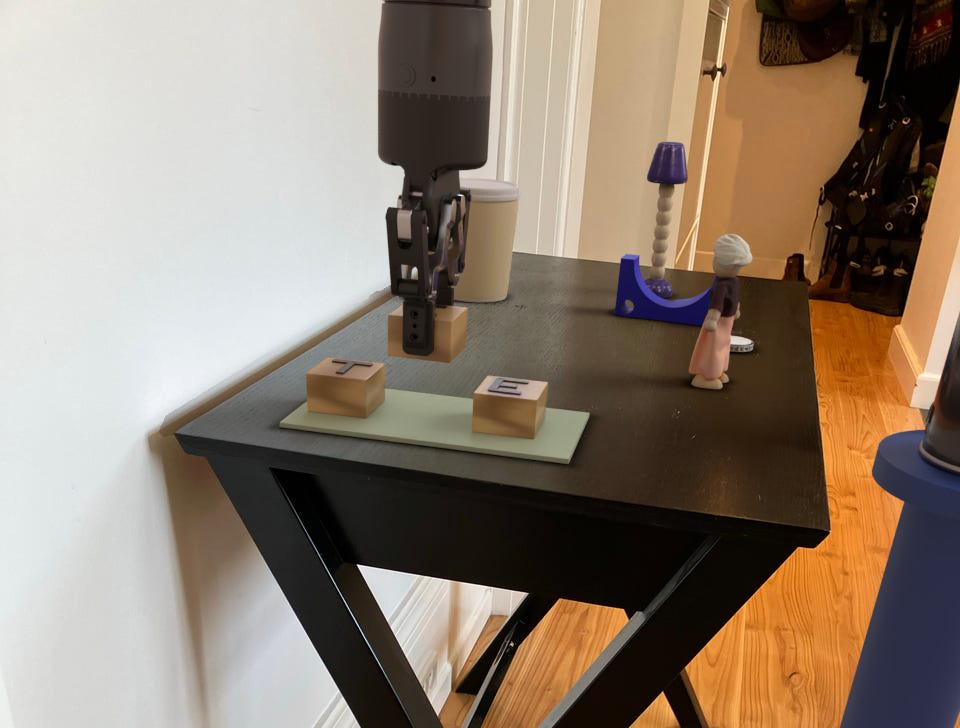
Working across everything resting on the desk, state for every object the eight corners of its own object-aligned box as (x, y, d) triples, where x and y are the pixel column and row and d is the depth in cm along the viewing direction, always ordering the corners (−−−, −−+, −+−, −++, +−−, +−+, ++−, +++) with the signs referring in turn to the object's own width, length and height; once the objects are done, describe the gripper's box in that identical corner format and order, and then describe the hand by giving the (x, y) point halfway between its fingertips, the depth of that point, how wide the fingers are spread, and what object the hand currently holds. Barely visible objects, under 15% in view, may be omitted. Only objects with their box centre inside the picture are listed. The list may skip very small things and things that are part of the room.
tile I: (466, 347, 77) (467, 305, 76) (450, 363, 73) (451, 319, 72) (406, 340, 78) (406, 299, 76) (387, 356, 74) (387, 312, 72)
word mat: (589, 417, 81) (589, 412, 81) (568, 464, 72) (568, 459, 71) (330, 386, 85) (330, 381, 84) (279, 427, 75) (279, 422, 75)
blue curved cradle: (727, 319, 113) (736, 263, 110) (722, 328, 109) (732, 270, 106) (622, 306, 116) (628, 251, 113) (614, 314, 112) (620, 258, 109)
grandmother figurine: (692, 369, 94) (715, 225, 88) (733, 375, 93) (759, 230, 87) (681, 392, 88) (704, 239, 82) (725, 398, 87) (752, 243, 81)
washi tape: (753, 353, 100) (754, 347, 100) (712, 349, 101) (713, 343, 100) (752, 343, 104) (753, 337, 103) (713, 339, 104) (714, 333, 104)
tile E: (545, 419, 79) (548, 380, 77) (534, 439, 75) (537, 398, 73) (485, 412, 79) (487, 373, 78) (471, 431, 75) (473, 391, 74)
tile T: (385, 400, 81) (385, 361, 79) (366, 418, 77) (365, 378, 75) (329, 393, 82) (328, 355, 80) (307, 411, 78) (305, 371, 76)
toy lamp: (663, 300, 120) (684, 145, 111) (627, 294, 122) (645, 141, 113) (677, 294, 123) (698, 143, 115) (642, 288, 125) (660, 139, 117)
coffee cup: (437, 284, 121) (440, 175, 115) (514, 288, 121) (521, 180, 115) (430, 301, 113) (433, 185, 107) (513, 306, 113) (520, 191, 107)
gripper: (463, 94, 60) (452, 376, 69) (511, 87, 72) (497, 328, 81) (344, 85, 61) (348, 364, 70) (410, 80, 73) (407, 318, 82)
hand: (428, 344), depth 75 cm, fingers closed on tile I, 4 cm apart
